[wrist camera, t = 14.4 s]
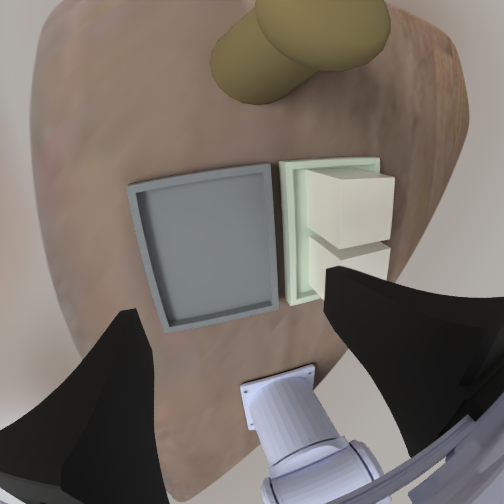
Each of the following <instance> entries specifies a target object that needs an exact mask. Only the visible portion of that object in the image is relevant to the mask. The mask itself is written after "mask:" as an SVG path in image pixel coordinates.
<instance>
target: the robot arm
mask: <svg viewBox="0 0 504 504" xmlns="http://www.w3.org/2000/svg"><path fill="white" fill-rule="evenodd" d="M324 313H325V315H326V317H327V319H328V320H329V322H330V324H331V325H332V327H333V329H334V330H335V332H336V333H337V334H338V335H339V337H340V338H341V339H342V340H343V342H344V343H345V344H346V345H347V347H348V348H349V349H350V350H351V352H353V354H354V355H355V356H356V358H357V359H358V360H359V361H360V363H361V364H362V365H363V366H364V368H365V369H366V370H367V372H368V373H369V375H370V376H371V377H372V379H373V381H374V382H375V384H376V386H377V387H378V389H379V391H380V392H381V394H382V396H383V398H384V400H385V401H386V403H387V405H388V407H389V408H390V411H391V413H392V415H393V417H394V419H395V421H396V423H397V425H398V427H399V429H400V432H401V434H402V437H403V439H404V442H405V445H406V447H407V450H408V453H409V455H410V457H411V459H409V460H408V461H406V462H404V463H403V464H401V465H400V466H398V467H397V468H395V469H393V470H392V471H390V472H388V473H386V474H385V475H384V473H383V471H382V469H381V467H380V465H379V463H378V461H377V459H376V458H375V456H374V455H373V453H372V452H371V451H370V449H369V448H368V447H367V446H366V445H365V444H364V443H363V442H359V441H356V440H352V441H350V442H349V443H348V441H347V440H346V438H345V436H341V437H340V435H339V434H338V432H337V430H336V429H335V427H334V425H333V423H332V422H331V420H330V418H329V417H328V415H327V413H326V412H325V410H324V409H323V407H322V405H321V403H320V402H319V400H318V398H317V397H316V395H315V393H314V391H313V384H314V374H315V367H314V365H312V364H311V365H307V366H304V367H301V368H298V369H295V370H292V371H288V372H285V373H282V374H278V375H275V376H271V377H267V378H264V379H260V380H256V381H252V382H248V383H244V384H242V385H241V386H240V390H241V395H242V400H243V405H244V410H245V415H246V420H247V424H248V428H249V430H255V429H256V431H257V434H258V436H259V439H260V442H261V444H262V447H263V449H264V452H265V455H266V457H267V460H268V463H269V465H270V468H268V469H267V471H268V473H269V476H270V477H268V478H265V479H264V480H263V483H262V486H261V494H262V498H263V501H264V504H390V502H391V500H392V498H391V494H393V493H395V492H396V491H398V490H399V489H401V488H403V487H404V486H406V485H407V484H409V483H410V482H412V481H413V480H415V479H416V478H418V477H419V476H420V475H422V474H423V473H425V472H426V471H427V470H428V469H430V468H431V467H433V466H434V465H435V464H437V463H438V462H439V461H441V460H442V459H443V458H444V457H445V456H446V463H445V464H444V465H442V466H441V467H440V468H439V469H437V470H436V471H435V472H434V473H433V474H431V475H430V476H429V477H428V478H427V479H426V480H424V481H423V482H422V483H421V484H419V485H418V486H417V487H415V488H414V489H412V490H411V491H410V492H408V496H409V498H410V499H411V501H412V504H504V297H494V298H467V297H455V296H448V295H440V294H435V293H430V292H425V291H421V290H416V289H413V288H409V287H405V286H402V285H399V284H396V283H392V282H389V281H386V280H383V279H380V278H377V277H375V276H372V275H369V274H366V273H363V272H360V271H357V270H354V269H351V268H347V267H344V266H335V267H331V268H327V269H326V276H325V296H324ZM0 487H1V488H2V489H3V490H5V491H6V492H8V493H10V494H11V495H13V496H14V497H16V498H17V499H19V500H21V501H22V502H24V503H26V504H169V500H168V497H167V493H166V489H165V486H164V482H163V478H162V473H161V469H160V464H159V459H158V453H157V447H156V441H155V433H154V365H153V354H152V349H151V347H150V344H149V342H148V339H147V337H146V334H145V331H144V329H143V326H142V323H141V321H140V318H139V315H138V312H137V310H136V308H135V309H129V310H123V311H120V312H119V313H118V315H117V316H116V317H115V318H114V320H113V321H112V322H111V324H110V325H109V327H108V328H107V329H106V331H105V332H104V333H103V335H102V336H101V337H100V339H99V340H98V341H97V343H96V344H95V345H94V347H93V348H92V349H91V350H90V352H89V353H88V354H87V355H86V357H85V358H84V359H83V360H82V362H81V363H80V364H79V365H78V367H77V368H76V369H75V370H74V371H73V372H72V373H71V375H70V376H69V377H68V378H67V379H66V380H65V381H64V382H63V383H62V384H61V385H60V386H59V387H58V388H57V389H55V390H54V391H53V392H52V393H51V394H50V395H49V396H48V397H47V398H45V399H44V400H43V401H42V402H41V403H40V404H39V405H37V406H36V407H35V408H34V409H32V410H31V411H30V412H28V413H27V414H25V415H24V416H23V417H21V418H20V419H18V420H17V421H15V422H14V423H12V424H10V425H9V426H7V427H5V428H4V429H2V430H0ZM0 504H7V503H5V502H2V501H0Z"/></svg>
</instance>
